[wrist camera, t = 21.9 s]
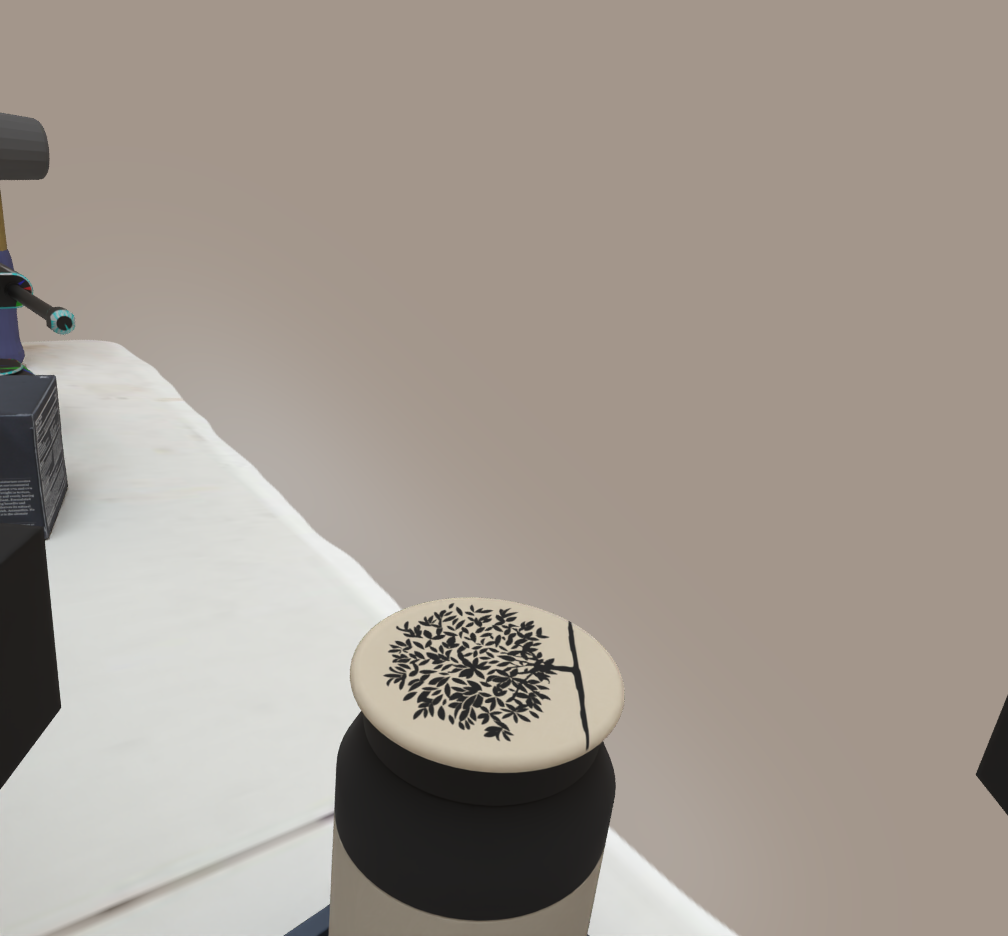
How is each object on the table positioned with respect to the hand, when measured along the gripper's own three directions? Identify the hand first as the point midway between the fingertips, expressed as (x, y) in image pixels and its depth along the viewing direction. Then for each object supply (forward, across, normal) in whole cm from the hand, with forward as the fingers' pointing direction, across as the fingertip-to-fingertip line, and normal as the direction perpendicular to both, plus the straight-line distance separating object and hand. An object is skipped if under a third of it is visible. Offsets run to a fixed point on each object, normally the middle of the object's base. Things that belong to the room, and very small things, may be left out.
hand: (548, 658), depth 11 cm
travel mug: (+10, 0, -25) cm, 27 cm away
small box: (+53, -37, -26) cm, 70 cm away
